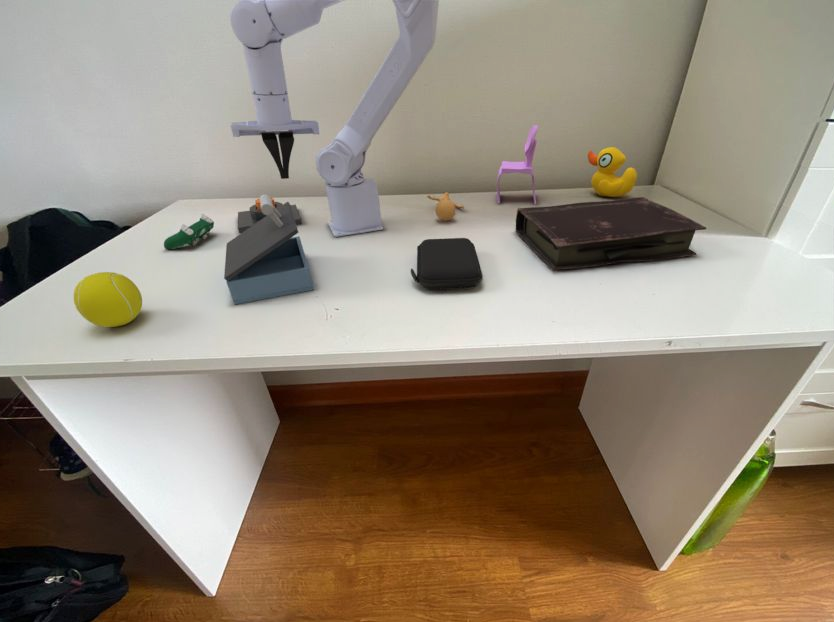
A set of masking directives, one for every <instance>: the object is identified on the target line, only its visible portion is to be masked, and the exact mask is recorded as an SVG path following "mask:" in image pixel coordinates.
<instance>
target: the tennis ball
mask: <svg viewBox="0 0 834 622" xmlns="http://www.w3.org/2000/svg"><path fill="white" fill-rule="evenodd" d="M73 303H74V305H75V308H76V310H77V311H78V313H79V314H80V315H81V316H82V317H83V319H85V320H86V321H88V322H90V323H91V324H93V325H96V326H99V327H102V328H103V327H104V328H114V327H115V328H116V327H121V326H125V325H127V324H129V323H131V322H132V321H134V320H135V319H136V317H138V315H139V314H140V313H141V311H142V307H143V297H142V293H141V290H140V289H139V287H138V286H137V285H136V284H135V282H134V281H133V280H131V279H130V278H129V277H127V276H125V275H124V274H121V273H116V272H112V271H103V272H102V271H101V272H96V273H92V274H89V275H87V276H85V277H84V278H82V279H81V280H80V281H78V283H77V284H76V286H75V288H74V291H73Z"/></svg>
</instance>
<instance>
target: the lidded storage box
mask: <svg viewBox="0 0 834 622" xmlns="http://www.w3.org/2000/svg"><path fill="white" fill-rule="evenodd" d="M308 263H309V262H308V260H307V257H306V253H305V250H304V247H303V243H302V241H301V237H300V236H298V235H297V236H293V237H291V238H290V239H288V240H287V241H286V242H284V243H283V244H281V245H280V246H278V247H277V248H275V249H274V250H272V251H271V252H269V253H268V254H267V255H265V256H264V257H262V258H261V259H259V260H258V261H256V262H255V263H253V264H252V265H250V266H249V267H247V268H246V269H245V270H243V271H242V272H240V273H239V274H237V275H236V276H234V277H233V278H231V279H230V280H228V281H226V285H227V287H228V291H229V293H230V296H231V299H232V302H233V304H234V305H240V304H245V303H246V304H247V303H250V302H251V303H252V302H256V301H261V300H267V299H273V298H278V297H282V296H284V297H285V296H288V295H294V294H299V293H303V292H304V293H305V292H311V291H314V284H313V280H312V276H311V270H310V266H309V264H308Z"/></svg>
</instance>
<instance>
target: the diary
mask: <svg viewBox="0 0 834 622" xmlns="http://www.w3.org/2000/svg"><path fill="white" fill-rule="evenodd" d="M706 229H707V227H706V226H705V225H702V224H701V223H699V222H696V221H695V220H693V219H691V218H690V217H688V216H686V215H684V214H681V213H680V212H677V211H676V210H674V209H672V208H669V207H668V206H665V205H662V204H660V203H658V202H654V201H653V200H651V199H650V200H649V199H648V198H647V197H644V196H639V197H631V198H623V199H614V200H603V201H602V200H601V201H588V202H587V201H586V202H585V201H584V202H575V203H566V204H559V205H550V206H531V207H518V208H517V211H516V216H515V233H516V234H517V235H518V236H519V237H520V238H521V239H522V240H523V241H524V242H525V243H526V244H527V245H528V246H529V247H530V249H532V251H533V252H534V253H535V254H536V255H537V256H538V257H539V258H540V259H541V260H542V261H543V262H545V264H547V265H548V266H549V267H550V268H553V269H556V270H567V269H568V270H569V269H582V268H593V267H594V268H595V267H598V266H599V267H600V266H605V265H613V264H618V263H624V262H625V263H626V262H660V261H666V260H673V259H678V258H684V257H685V258H686V257H691V256H697V255H698V254H697V252H695V251H694V250H692V249H691V248H690V247H691V244H692V241H693V239H694V236H695V234H696V231H703V230H704V231H705V230H706Z"/></svg>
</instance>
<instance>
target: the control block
mask: <svg viewBox="0 0 834 622" xmlns="http://www.w3.org/2000/svg"><path fill="white" fill-rule="evenodd" d="M274 202H275V206H276V207H275V208H276V209H277V208H279V207H280V206H282V205H283V203H282V202H280V201H274ZM290 206H291V209H292V212H293V216H294V219H295V222H296V226H299V225H300V226H301V225H303V223H302V219H301V216H300V212H299V209H298V207H297V205H296V204H290ZM266 216H267V215H264V214H263V213H262V211H261V210H257V206H256V203H255V204H253V205H252V206H249V210H243V211H238V212H237V230H238V233H239V234H241V233H242V232H244V231H245V230H247V229H248V228H250V227H251V226H253V225H254V224H256V223H257V222H259V221H260V220H261V219H263V218H264V217H266Z"/></svg>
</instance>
